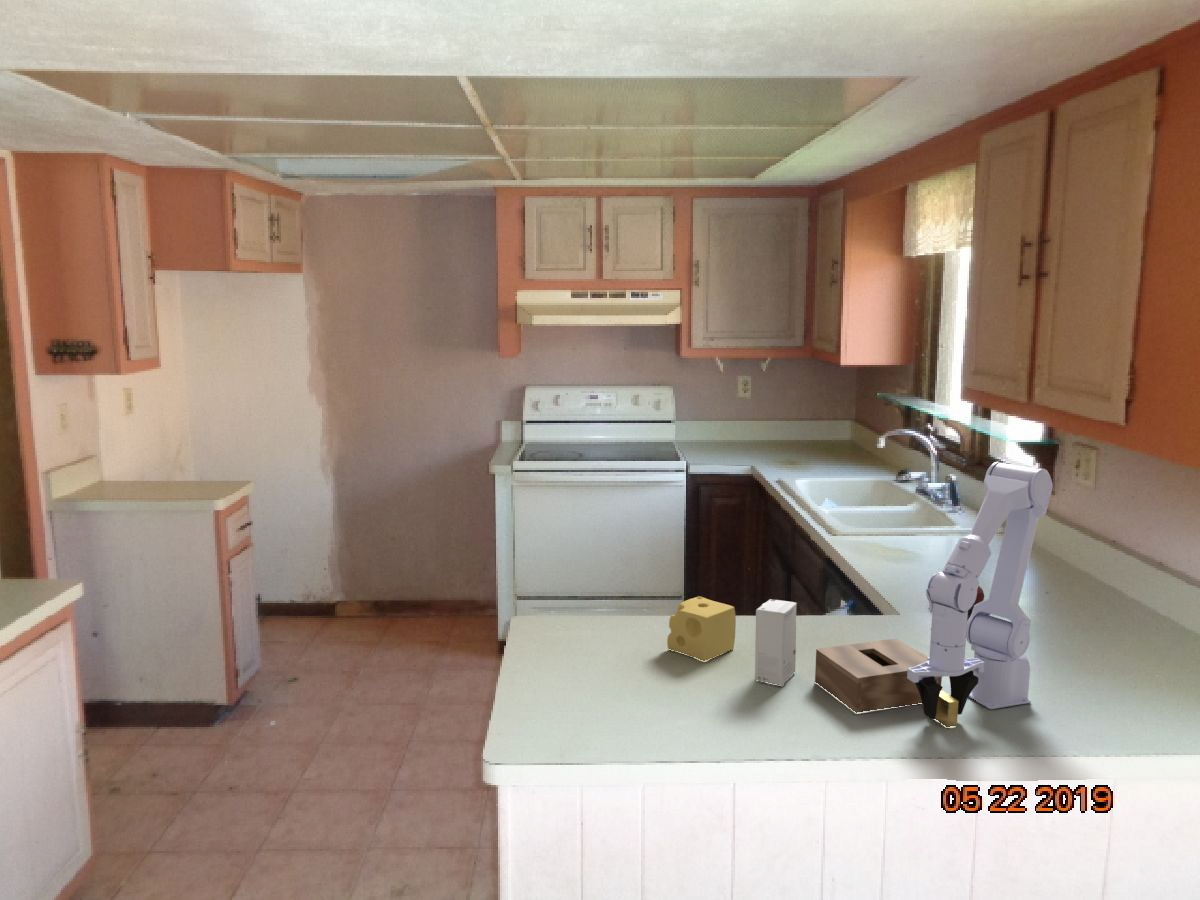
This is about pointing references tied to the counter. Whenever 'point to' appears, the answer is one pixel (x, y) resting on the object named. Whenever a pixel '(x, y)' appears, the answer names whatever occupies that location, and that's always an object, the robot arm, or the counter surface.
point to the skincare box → (775, 641)
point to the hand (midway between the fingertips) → (942, 714)
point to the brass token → (947, 710)
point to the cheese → (702, 628)
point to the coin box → (870, 674)
